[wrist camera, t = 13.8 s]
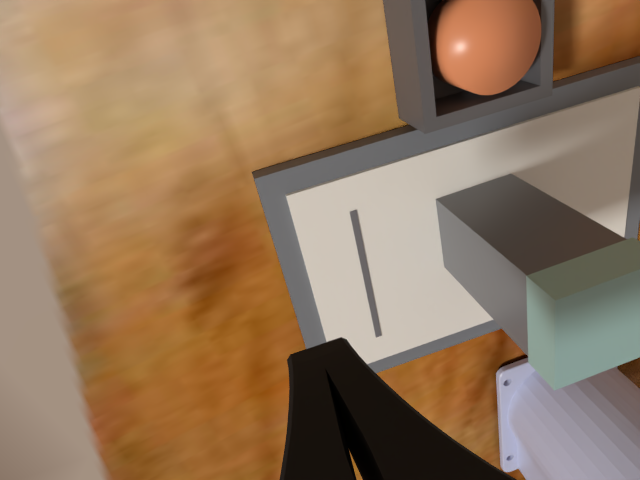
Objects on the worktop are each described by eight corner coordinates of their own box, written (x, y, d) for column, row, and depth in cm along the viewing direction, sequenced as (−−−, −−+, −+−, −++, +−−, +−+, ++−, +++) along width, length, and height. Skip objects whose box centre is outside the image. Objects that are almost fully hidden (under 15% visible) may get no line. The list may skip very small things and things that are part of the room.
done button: (508, 72, 19) (541, 80, 17) (428, 95, 19) (453, 106, 17) (506, -25, 18) (541, -26, 16) (418, -1, 17) (444, 0, 15)
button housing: (513, 84, 21) (552, 95, 19) (399, 118, 20) (425, 134, 18) (511, -57, 18) (555, -63, 16) (380, -23, 18) (407, -24, 15)
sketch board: (620, 274, 28) (635, 284, 27) (316, 382, 26) (321, 396, 25) (645, 54, 22) (665, 57, 21) (251, 172, 20) (255, 181, 19)
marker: (515, 243, 23) (656, 350, 16) (442, 269, 23) (554, 390, 16) (513, 170, 21) (670, 258, 15) (433, 197, 21) (555, 300, 14)
